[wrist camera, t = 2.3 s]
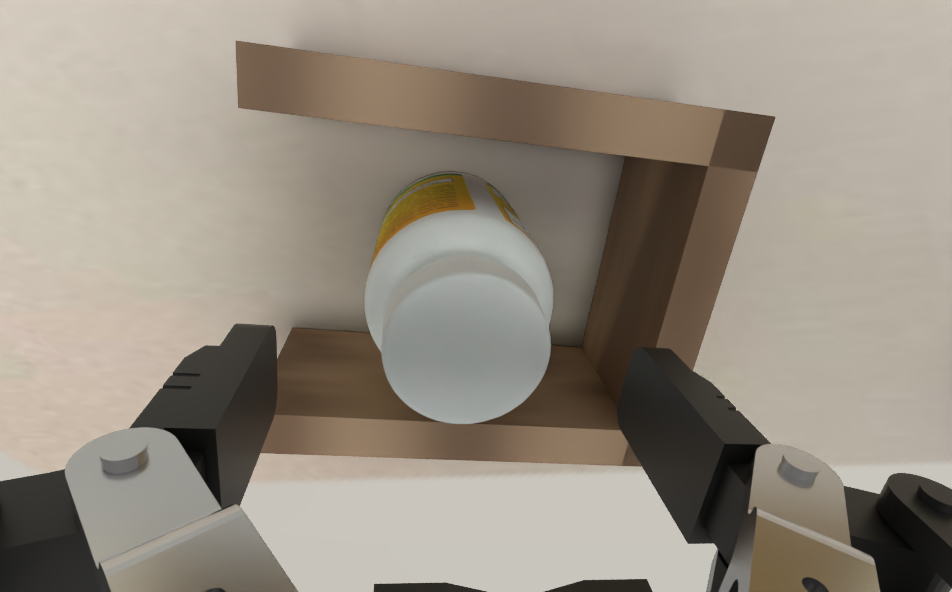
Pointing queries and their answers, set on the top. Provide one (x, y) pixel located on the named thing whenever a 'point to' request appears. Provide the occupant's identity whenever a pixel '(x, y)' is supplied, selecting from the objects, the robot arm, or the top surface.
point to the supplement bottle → (458, 301)
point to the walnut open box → (620, 277)
